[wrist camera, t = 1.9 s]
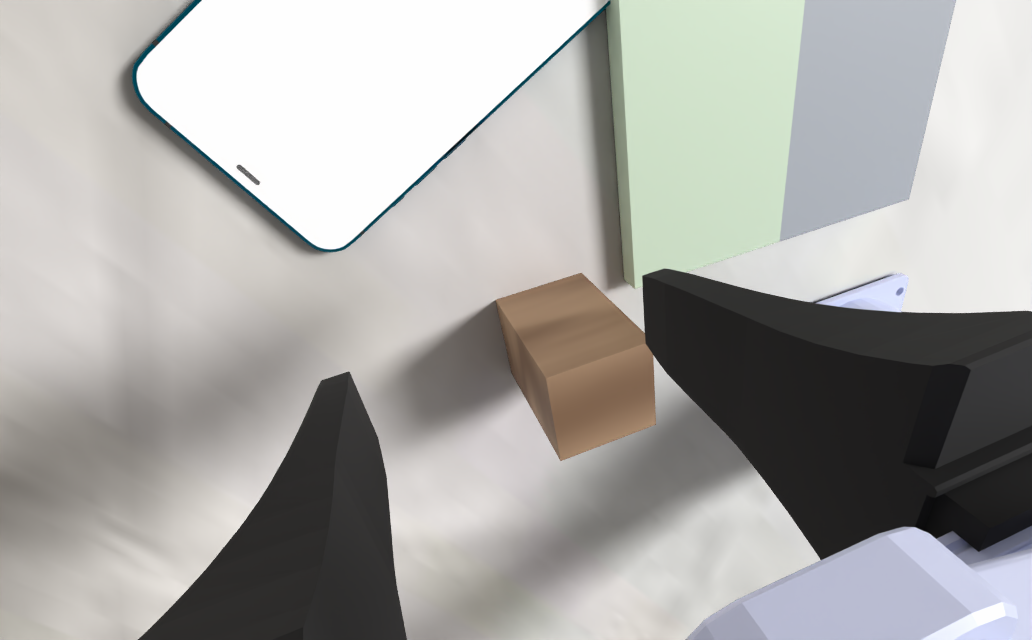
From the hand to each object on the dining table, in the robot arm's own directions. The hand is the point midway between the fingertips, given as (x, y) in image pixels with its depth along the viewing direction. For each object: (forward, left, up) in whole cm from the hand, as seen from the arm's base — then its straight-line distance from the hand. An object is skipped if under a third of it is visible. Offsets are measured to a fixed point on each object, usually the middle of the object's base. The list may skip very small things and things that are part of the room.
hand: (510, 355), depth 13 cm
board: (+2, -15, -9) cm, 18 cm away
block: (-6, -4, -10) cm, 12 cm away
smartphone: (+7, -1, -10) cm, 12 cm away
